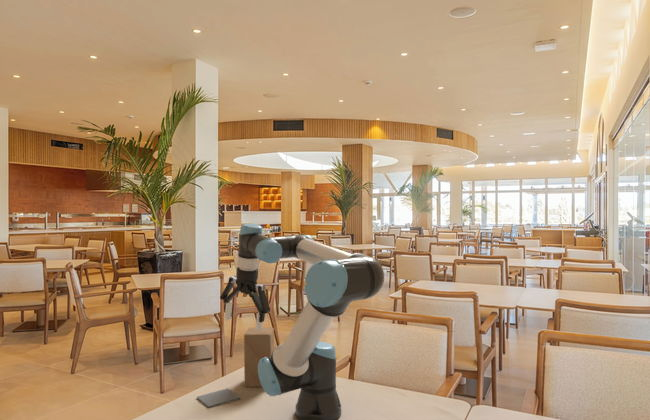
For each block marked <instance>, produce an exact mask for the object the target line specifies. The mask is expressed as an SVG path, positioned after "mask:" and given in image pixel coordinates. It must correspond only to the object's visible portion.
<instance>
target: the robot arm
mask: <svg viewBox="0 0 650 420" xmlns="http://www.w3.org/2000/svg"><path fill="white" fill-rule="evenodd" d="M238 236H239V237H238V238H239V239H238V253H237V263H236V267H237V268H236V273H235V274H236V275H232V276H230V277H229V278H228V282H227V285H225V288H224V289H223V292H222V293H221V294H220V297H219V298H220V300H222V301H223V302H224V305H223V309H224V311H225V312H224V321H226V322H227V321H228V320H231V319H232V312H233V311H232V310H233V301H232V300H233V299H234V297H236V295H238V294H239V293H241V294H245V295H248V296H249V297H250V298H251V300H252V302H253V304H254V306H255V307H256V310H257V311H258V313H256V321H255V328H256V331H259V330H261V329H262V328H263V322H264V321H265V317H266V316H265V315H266V314H268V313H270V312H271V308H270V304H269V301H268V297H267V295H266V294H267V293H266V290H265V287H266V286H265V284H263V283H262V284H258V283H257V282H258V278H259V266H260V261H262V262H264V263H267V264H276V263H277V262H278V261H280V259H290V258H291V259H292V258H295V259H298V260H301V261H303V262H306V263H308V264H310V265H311V266H310V267H309V268H308V270H307V272H306V275H305V278H304V282H305V284H304V286H303V287H304V292H305V295H306V300H307V301H306V303H305V305H304V307H303V309H302V311H301V312H300V314H299V315H298V317H297V319H296V321H295V323H294V325H293V326H292V329H291V330H290V332H289V334H288V336H287V338H286V339H285V340H284V342H283V343H280V344H279V345H277V346H276V347H274V351H273V353H272V355H271V356H269V357H264V358H262V359H261V360H260V361H259V364H258V374H259V380H260V383H261V385H262V387H261V388H262V389H263V391H264V392H265V393H266V395H268V396H269V397H276V396H281V395H284V394H287V393H291V392H293V391H296V390H299V389H300V391H299V394H298V398H297V402H296V404H295V416H296V417H297V418H298V419H299V420H338V419H339V418H340V417H341V416H342V403H341V401H340V397H339V395H338V391H337V354H336V347H335V346H334V345H333V344H331V343H329V342H325V341H321V339H322V338H323V336H324V334H325V333H326V331H327V330H328V328H329V326H330V325H331V323H332V322H333V320H334V319H335V318H338V317H340V316H342V315H343V314H344V313H345V312H346V310H347V309H348V307H349V306H350V304H352V303H353V302H357V301H362V300H367V299H371V298H373V297H374V296H376V295H377V294H378V293H379V292H380V291H381V289H382V287H383V285H384V282H385V272H384V268H383V266H382V264H381V263H380V262H379V261H378V260H377V259H375V258H374V257H372V256H370V255H368V254H367V255H366V254H363V253H360V252H355V253H349V252H348V251H347V252H346V251H344V250H341V249H338V248H336V247H332V246H330V245H327V244H323V243H321V242H318V241H315V240H314V238H312V236H311V235H309V234H296V235H295V234H294V235H283V236H281V235H278V236H266V235H264V234H263V227H262V226H261V224H258V223H250V222H249V223H243V224H241V226H240V230H239V235H238ZM235 284H236V287H235V288H234V285H235ZM233 288H234V289H233Z"/></svg>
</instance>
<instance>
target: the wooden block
mask: <svg viewBox="0 0 650 420" xmlns="http://www.w3.org/2000/svg"><path fill="white" fill-rule="evenodd" d="M274 335H275V329H274V327H262V329H261V330H259V331H256V327H248V329H247V330H246V332H245V333H244V334H243V345H244V347H243V348H244V351H243V354H244V355H243V356H244V357H243V359H244V360H243V361H244V364H243V365H244V368H243V369H244V388H245V387H246V388H262V385H261V383H260V380H259V374H258V364H259V361H260V360H261V359H262V358H264V357H269V356H271V355H272V353H273V351H274V350H275V336H274Z"/></svg>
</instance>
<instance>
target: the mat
mask: <svg viewBox="0 0 650 420" xmlns="http://www.w3.org/2000/svg"><path fill="white" fill-rule="evenodd" d="M196 399H197V400H198V401H199V402H200V403H202V404H203V405H204V406H205V407H207V409H211V408H214V407H218V406H220V405H224V404H228V403H230V402H235V401H237V400H240V399H241V396H240V395H238V394H237V393H236V392H234V391H232V390H231V389H230V388H229V387H228V388H224V389H220V390H217V391H213V392H209V393H207V394H202V395H199V396H196Z"/></svg>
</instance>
